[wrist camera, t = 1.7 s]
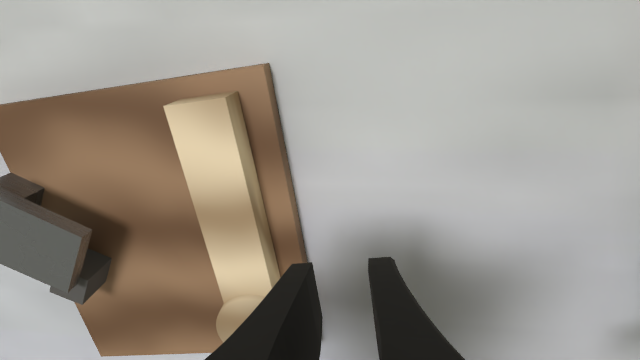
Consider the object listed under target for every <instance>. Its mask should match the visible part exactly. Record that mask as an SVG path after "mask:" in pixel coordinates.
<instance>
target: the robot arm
mask: <svg viewBox="0 0 640 360" xmlns="http://www.w3.org/2000/svg"><path fill="white" fill-rule="evenodd" d="M368 273H369V281H370V289H371V297H372V305H373V313H374V322H375V330H376V338H377V346H378V353H379V359H380V360H465V359H464V358H463V357H462V356H461V355H460V354H459V353H458V352H457V351H456V350H455V349H454V348H453V346H452V345H451V344H450V343H449V342H448V341H447V340H446V339H445V337H444V336H443V335H442V334H441V333H440V331H439V330H438V329H437V328H436V326H435V325H434V324H433V323H432V321H431V320H430V319H429V318H428V316H427V315H426V314H425V312H424V311H423V310H422V308H421V307H420V305H419V304H418V302H417V301H416V299H415V298H414V296H413V295H412V294H411V292H410V290H409V289H408V287H407V286H406V284H405V282H404V280H403V279H402V277H401V275H400V273H399V271H398V269H397V266H396V264H395V261H394V260H393V259H392V258H391V257H382V258H369V263H368ZM321 336H322V313H321V307H320V302H319V297H318V291H317V286H316V281H315V275H314V270H313V265H312V262H311V263H297V264H291V266H290V267H289V268H288V269H287V270H286V271H285V273H284V274H283V275H282V277H281V278H280V279H279V280H278V282H277V283H276V284H275V285H274V287H273V288H272V289H271V290H270V292H269V293H268V294H267V295H266V297H265V298H264V299H263V300H262V301H261V302H260V304H259V305H258V306H257V307H256V308H255V310H254V311H253V312H252V313H251V314H250V315H249V316H248V317H247V319H246V320H245V321H244V322H243V323H242V324H241V325H240V326H239V327H238V328H237V329H236V330H235V331H234V333H233V334H232V335H231V336H230V337H229V338H228V339H227V340H226V341H225V342H224V343H222V344H221V345H220V346H219V347H218V348H217V349H216V350H215V351H214V352H213V353H212V354H211V355H209V356H208V357H207V358H206V359H205V360H319V357H320V351H321Z"/></svg>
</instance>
